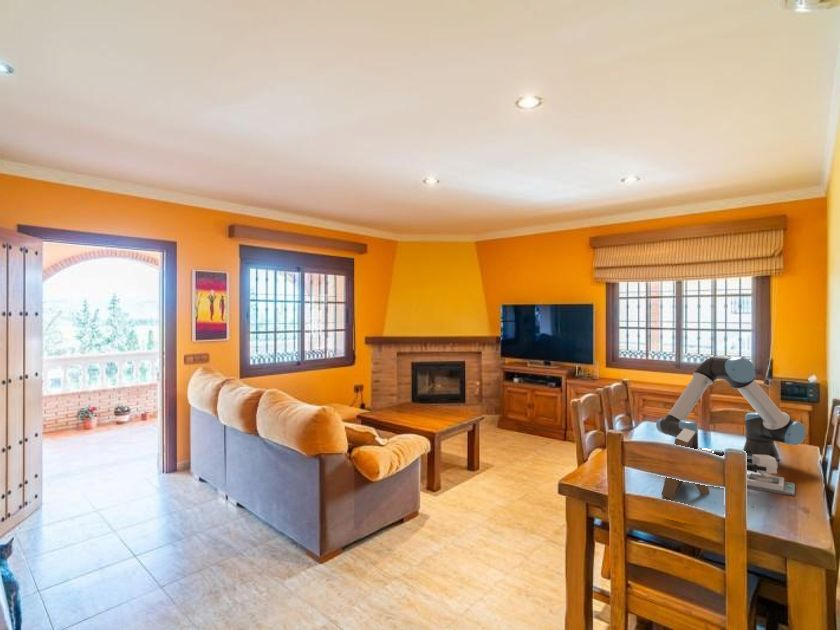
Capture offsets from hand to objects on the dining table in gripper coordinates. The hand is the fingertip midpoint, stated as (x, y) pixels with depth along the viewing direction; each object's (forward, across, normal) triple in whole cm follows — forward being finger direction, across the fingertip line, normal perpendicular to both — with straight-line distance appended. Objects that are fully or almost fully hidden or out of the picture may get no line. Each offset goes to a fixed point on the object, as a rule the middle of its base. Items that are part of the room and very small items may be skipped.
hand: (777, 467), depth 185 cm
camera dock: (-5, 0, -9) cm, 10 cm away
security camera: (-5, 0, -6) cm, 8 cm away
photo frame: (-29, +30, -9) cm, 42 cm away
